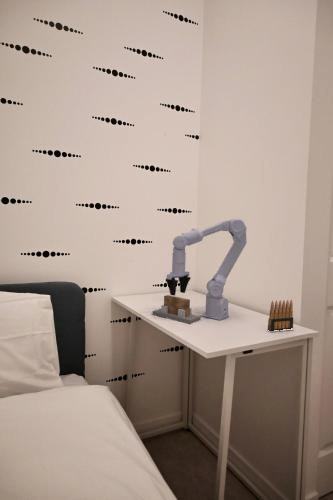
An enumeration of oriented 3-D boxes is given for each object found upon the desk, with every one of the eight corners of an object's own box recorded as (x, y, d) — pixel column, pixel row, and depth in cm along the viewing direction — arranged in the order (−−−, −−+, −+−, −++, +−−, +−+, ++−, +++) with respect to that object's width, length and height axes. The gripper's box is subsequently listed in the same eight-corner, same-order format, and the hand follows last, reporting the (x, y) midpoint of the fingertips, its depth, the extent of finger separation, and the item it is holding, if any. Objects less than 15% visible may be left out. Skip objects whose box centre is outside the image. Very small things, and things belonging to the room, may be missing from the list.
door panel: (189, 315, 133) (190, 299, 133) (185, 317, 131) (185, 300, 130) (167, 310, 141) (167, 295, 140) (162, 312, 138) (163, 296, 138)
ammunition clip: (289, 328, 125) (291, 298, 124) (293, 330, 123) (294, 300, 123) (267, 331, 122) (268, 300, 121) (270, 332, 120) (272, 301, 119)
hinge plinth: (200, 319, 133) (201, 309, 133) (189, 324, 127) (190, 313, 127) (163, 311, 146) (163, 301, 145) (152, 314, 139) (152, 304, 139)
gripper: (180, 261, 147) (179, 290, 148) (161, 263, 135) (160, 294, 136) (193, 262, 142) (192, 292, 143) (174, 265, 131) (173, 297, 132)
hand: (177, 293), depth 139 cm, fingers open, 7 cm apart
